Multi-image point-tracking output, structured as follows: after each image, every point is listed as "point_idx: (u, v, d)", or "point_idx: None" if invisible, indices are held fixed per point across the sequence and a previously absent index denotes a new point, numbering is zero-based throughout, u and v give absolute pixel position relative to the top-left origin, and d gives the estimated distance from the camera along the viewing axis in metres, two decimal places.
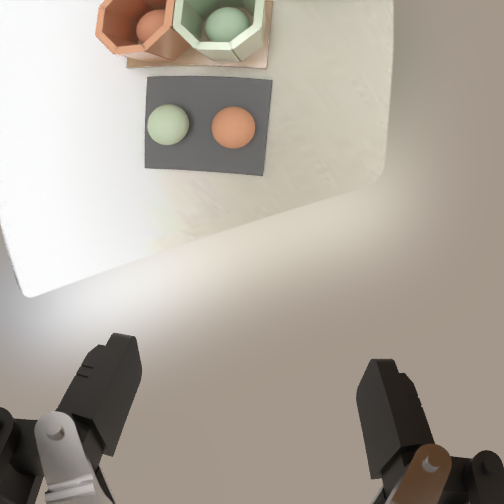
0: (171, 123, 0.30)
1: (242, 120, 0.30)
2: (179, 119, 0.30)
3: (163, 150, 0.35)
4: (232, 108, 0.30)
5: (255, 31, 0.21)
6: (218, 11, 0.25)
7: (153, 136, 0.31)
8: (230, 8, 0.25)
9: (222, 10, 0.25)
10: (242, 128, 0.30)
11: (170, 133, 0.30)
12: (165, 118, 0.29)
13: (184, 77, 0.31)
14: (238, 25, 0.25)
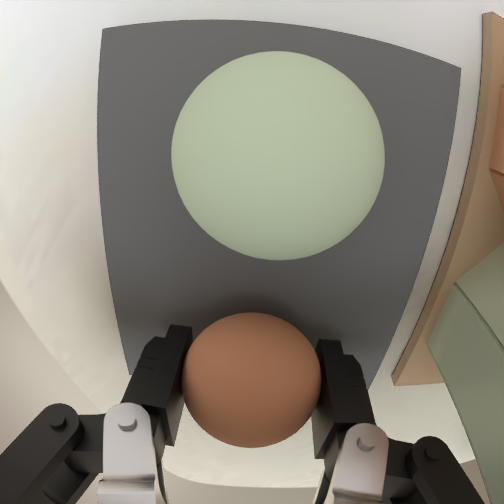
0: (293, 234, 0.05)
1: (275, 443, 0.09)
2: (306, 254, 0.06)
3: (164, 95, 0.08)
4: (316, 402, 0.09)
5: None
6: None
7: (217, 102, 0.05)
8: None
9: None
10: (250, 447, 0.09)
11: (231, 221, 0.05)
12: (330, 202, 0.05)
13: (436, 197, 0.09)
14: None
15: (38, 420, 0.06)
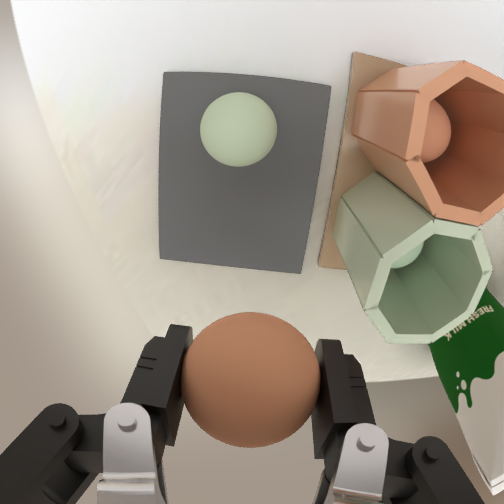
0: (239, 150, 0.17)
1: None
2: (246, 160, 0.18)
3: (193, 105, 0.19)
4: (315, 402, 0.09)
5: (384, 337, 0.16)
6: None
7: (216, 111, 0.16)
8: (421, 249, 0.20)
9: None
10: (249, 447, 0.09)
11: (220, 147, 0.17)
12: (250, 140, 0.16)
13: (320, 149, 0.20)
14: (393, 264, 0.20)
15: (38, 420, 0.06)
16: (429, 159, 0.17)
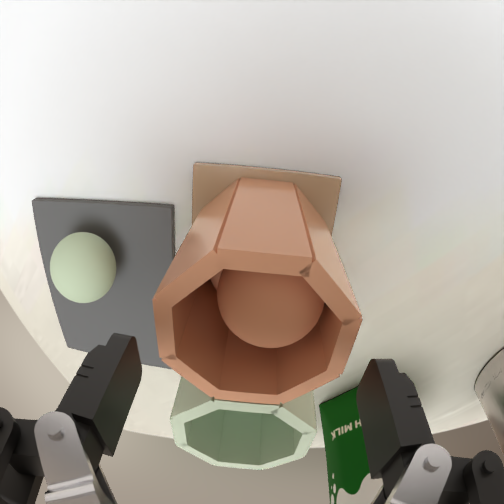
0: (75, 298, 0.17)
1: (321, 311, 0.13)
2: (86, 302, 0.18)
3: (58, 232, 0.20)
4: None
5: (207, 461, 0.16)
6: None
7: (53, 263, 0.17)
8: None
9: None
10: (311, 316, 0.12)
11: (62, 293, 0.17)
12: (79, 291, 0.17)
13: None
14: None
15: None
16: None
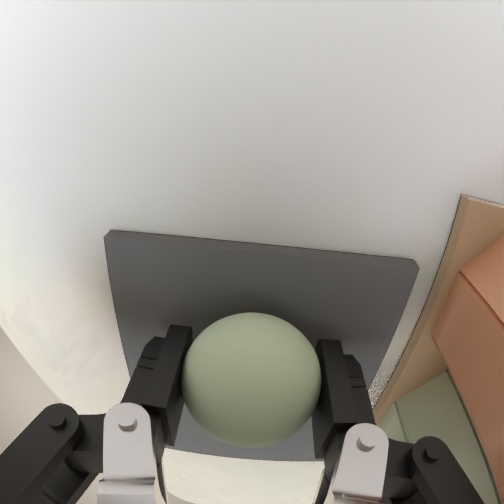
0: (255, 447, 0.09)
1: None
2: None
3: (166, 301, 0.11)
4: None
5: None
6: None
7: (209, 395, 0.08)
8: None
9: None
10: None
11: (221, 440, 0.09)
12: (275, 440, 0.08)
13: (380, 359, 0.12)
14: None
15: (38, 420, 0.06)
16: None
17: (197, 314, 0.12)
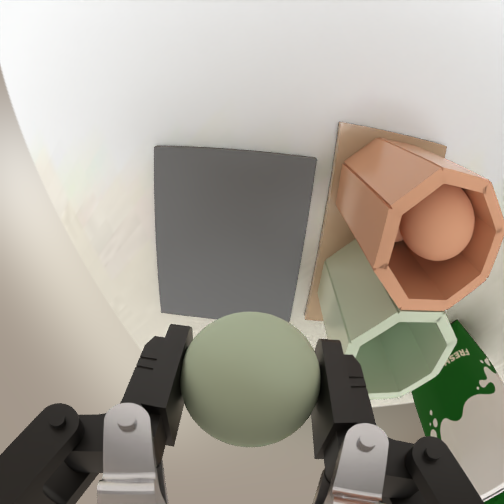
0: (254, 446, 0.09)
1: None
2: None
3: (184, 181, 0.22)
4: None
5: None
6: None
7: (207, 395, 0.08)
8: None
9: None
10: (473, 230, 0.14)
11: (220, 439, 0.09)
12: (274, 439, 0.08)
13: (305, 220, 0.23)
14: None
15: (38, 420, 0.06)
16: None
17: (200, 187, 0.22)
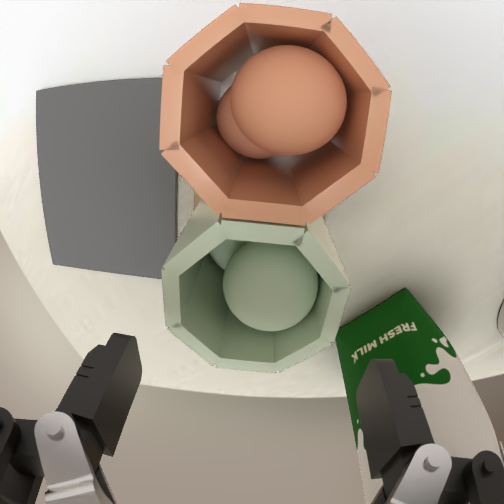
0: None
1: (344, 106, 0.11)
2: None
3: (59, 119, 0.18)
4: None
5: (206, 359, 0.14)
6: None
7: (291, 297, 0.13)
8: None
9: None
10: (336, 99, 0.10)
11: (292, 325, 0.15)
12: None
13: None
14: None
15: None
16: (262, 157, 0.16)
17: (71, 124, 0.18)
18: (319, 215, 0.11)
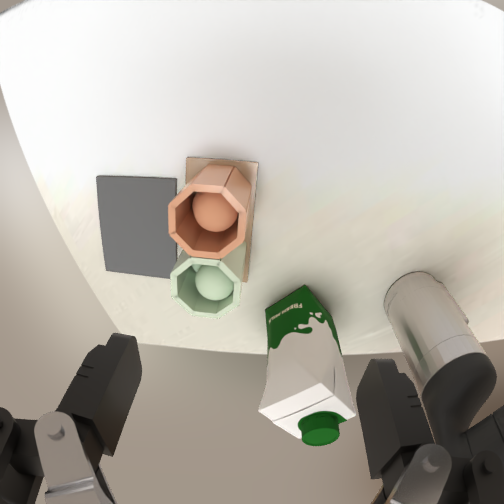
0: None
1: (234, 214, 0.31)
2: None
3: (111, 194, 0.39)
4: None
5: (188, 312, 0.35)
6: None
7: (220, 285, 0.34)
8: None
9: None
10: (229, 213, 0.31)
11: (223, 297, 0.35)
12: (233, 288, 0.36)
13: None
14: None
15: None
16: None
17: (119, 198, 0.39)
18: (224, 255, 0.32)
